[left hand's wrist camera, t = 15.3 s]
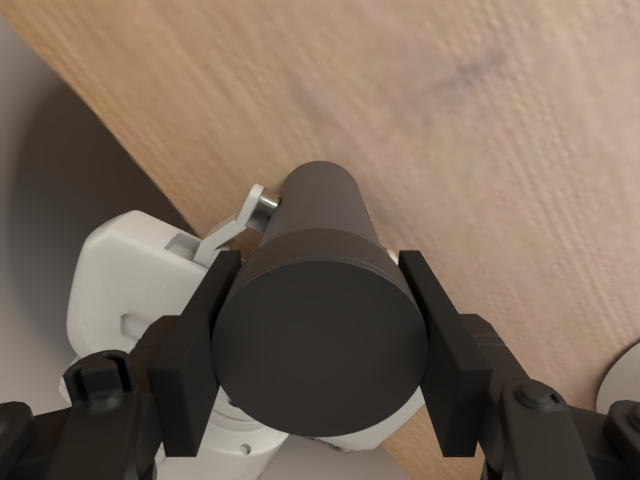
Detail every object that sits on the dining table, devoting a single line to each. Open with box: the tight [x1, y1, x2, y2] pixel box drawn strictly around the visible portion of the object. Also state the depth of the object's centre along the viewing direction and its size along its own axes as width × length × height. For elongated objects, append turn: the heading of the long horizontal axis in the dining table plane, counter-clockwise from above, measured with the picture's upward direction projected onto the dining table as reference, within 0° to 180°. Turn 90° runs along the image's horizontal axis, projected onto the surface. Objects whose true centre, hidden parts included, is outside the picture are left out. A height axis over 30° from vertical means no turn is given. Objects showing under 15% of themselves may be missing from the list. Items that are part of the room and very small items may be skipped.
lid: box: [211, 228, 429, 437], centre depth 12 cm, size 6×6×2 cm
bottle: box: [258, 161, 382, 249], centre depth 18 cm, size 6×5×16 cm
